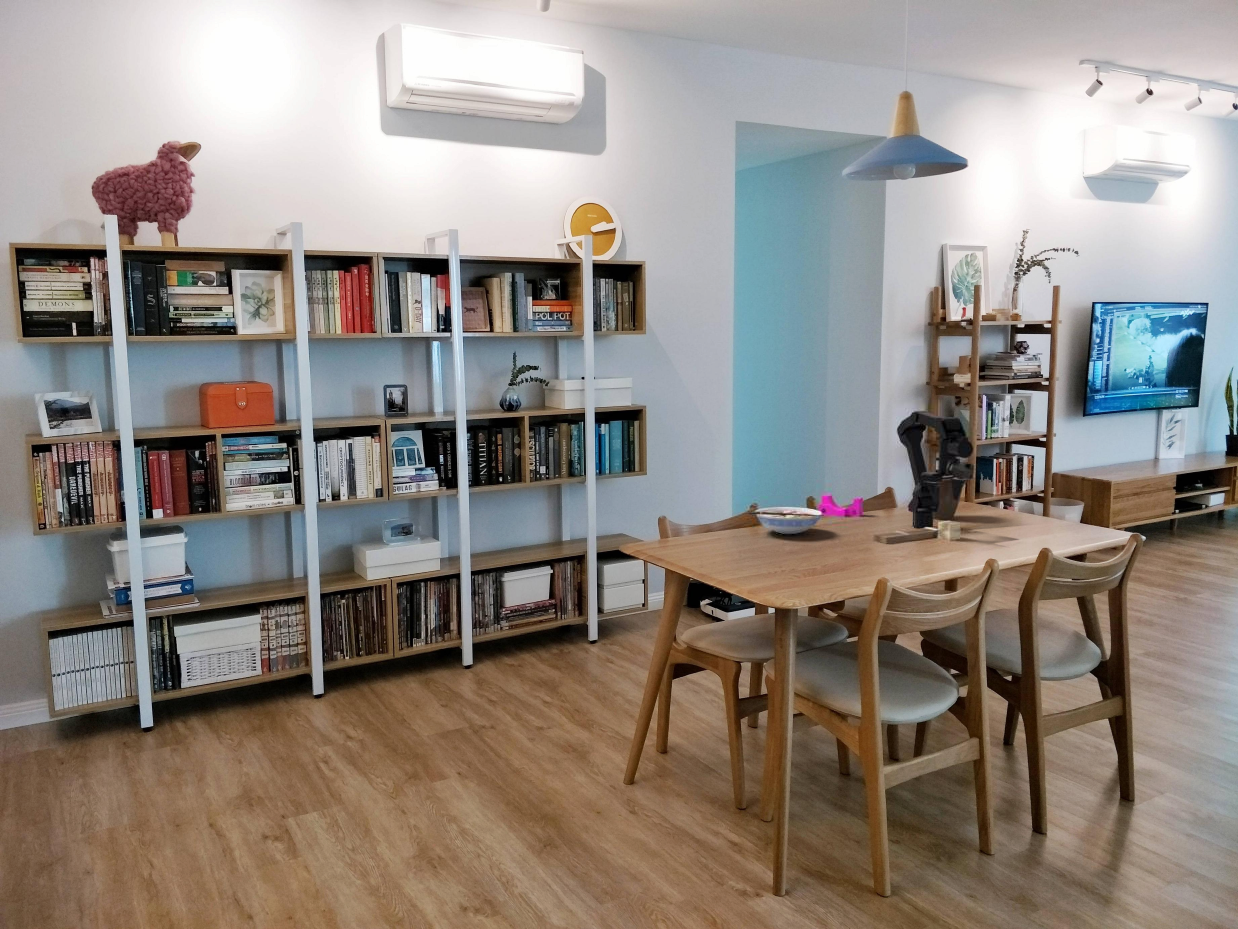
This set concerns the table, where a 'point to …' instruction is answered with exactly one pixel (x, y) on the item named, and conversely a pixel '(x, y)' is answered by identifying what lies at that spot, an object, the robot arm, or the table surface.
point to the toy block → (834, 510)
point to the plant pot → (946, 501)
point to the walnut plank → (905, 535)
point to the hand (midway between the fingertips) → (946, 501)
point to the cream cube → (948, 530)
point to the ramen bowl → (788, 519)
